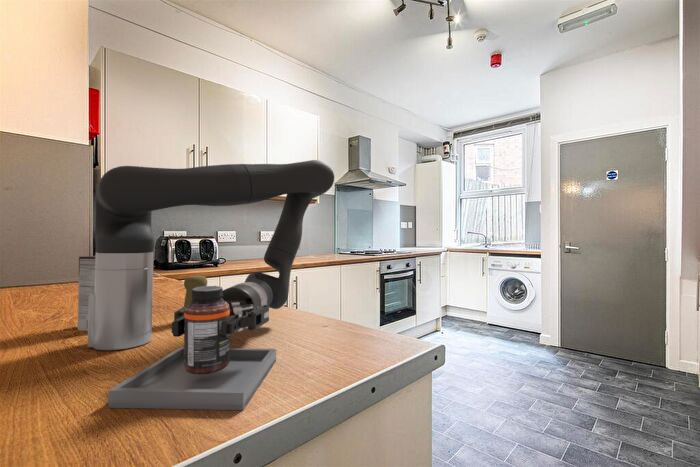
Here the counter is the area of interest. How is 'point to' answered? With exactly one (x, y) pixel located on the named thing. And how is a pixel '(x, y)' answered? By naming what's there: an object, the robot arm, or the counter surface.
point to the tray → (195, 383)
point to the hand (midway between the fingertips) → (199, 329)
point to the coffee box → (85, 289)
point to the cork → (193, 286)
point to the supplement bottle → (206, 331)
